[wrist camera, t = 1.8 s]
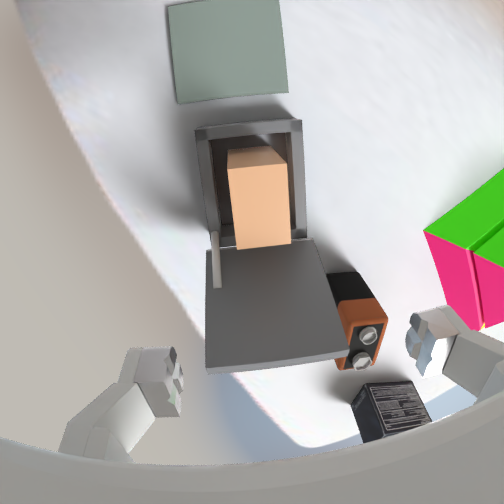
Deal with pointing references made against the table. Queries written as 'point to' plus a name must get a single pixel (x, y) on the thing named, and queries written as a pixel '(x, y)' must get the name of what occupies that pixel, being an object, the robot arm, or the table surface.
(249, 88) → the rubber mat
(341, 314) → the battery
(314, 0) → the table surface
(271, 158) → the block
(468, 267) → the pyramid toy
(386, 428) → the small box
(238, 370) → the equipment case
